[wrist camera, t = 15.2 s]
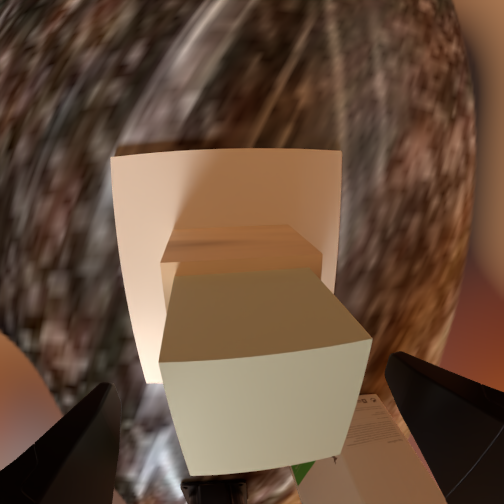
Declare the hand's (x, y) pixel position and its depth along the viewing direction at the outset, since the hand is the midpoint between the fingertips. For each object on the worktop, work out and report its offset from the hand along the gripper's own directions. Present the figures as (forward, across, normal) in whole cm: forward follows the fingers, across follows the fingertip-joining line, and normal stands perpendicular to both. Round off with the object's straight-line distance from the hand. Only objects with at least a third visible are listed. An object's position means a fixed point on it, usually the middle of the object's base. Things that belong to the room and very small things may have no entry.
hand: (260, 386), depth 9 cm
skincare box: (+9, -8, +15) cm, 19 cm away
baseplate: (+9, 0, 0) cm, 9 cm away
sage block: (+4, 0, 0) cm, 4 cm away
